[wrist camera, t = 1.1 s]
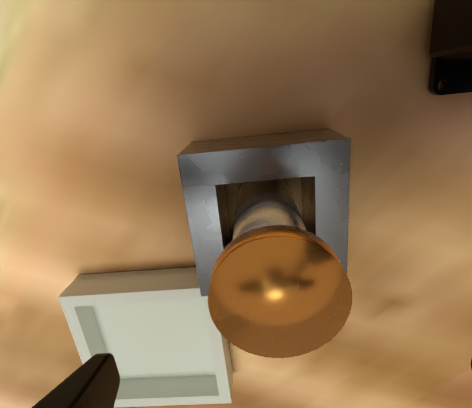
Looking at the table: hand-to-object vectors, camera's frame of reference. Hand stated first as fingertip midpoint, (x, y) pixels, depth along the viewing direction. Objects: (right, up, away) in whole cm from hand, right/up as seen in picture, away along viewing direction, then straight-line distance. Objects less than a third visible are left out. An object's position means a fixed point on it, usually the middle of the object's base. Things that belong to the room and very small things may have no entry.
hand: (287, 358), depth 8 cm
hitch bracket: (+1, +4, +12) cm, 12 cm away
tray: (-7, -5, +15) cm, 18 cm away
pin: (+1, +4, +12) cm, 12 cm away
